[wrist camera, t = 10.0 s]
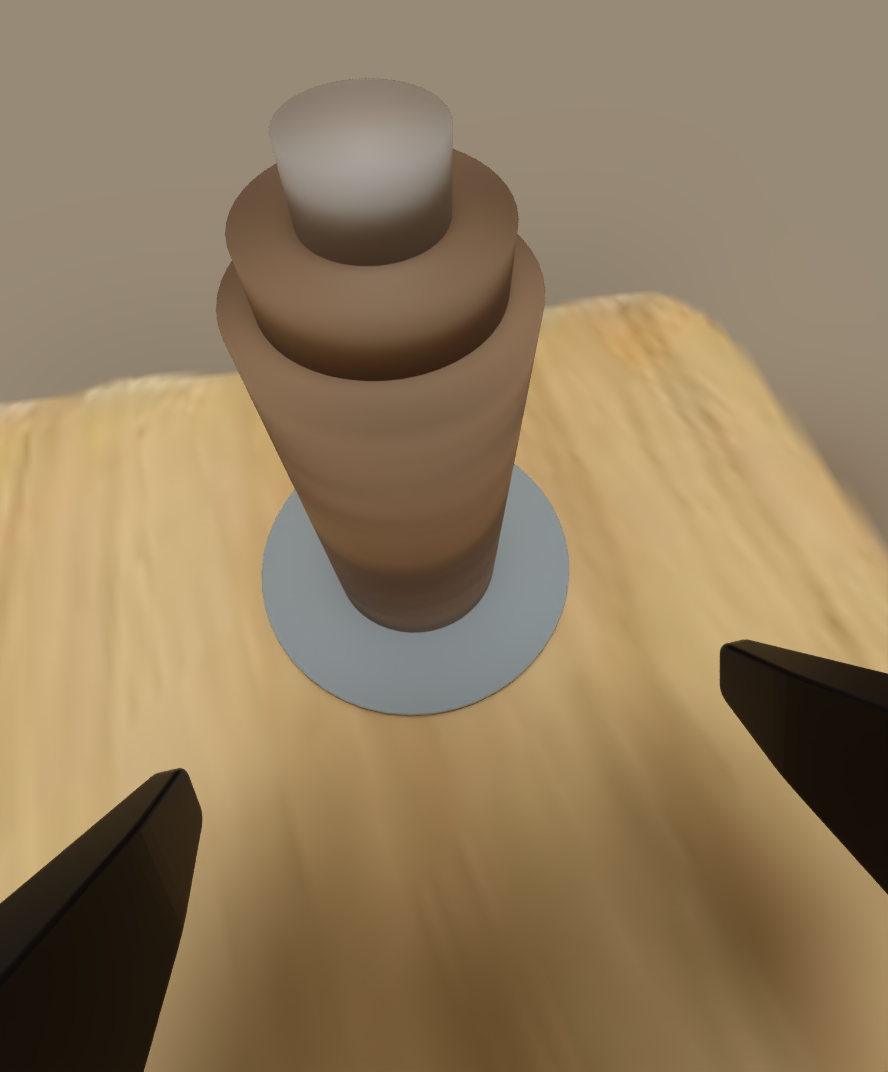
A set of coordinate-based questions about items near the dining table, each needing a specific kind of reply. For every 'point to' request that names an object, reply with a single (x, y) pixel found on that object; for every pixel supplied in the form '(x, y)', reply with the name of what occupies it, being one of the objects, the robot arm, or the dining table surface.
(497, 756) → the dining table surface
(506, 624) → the slate mat
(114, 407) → the dining table surface
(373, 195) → the pepper mill
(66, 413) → the dining table surface
